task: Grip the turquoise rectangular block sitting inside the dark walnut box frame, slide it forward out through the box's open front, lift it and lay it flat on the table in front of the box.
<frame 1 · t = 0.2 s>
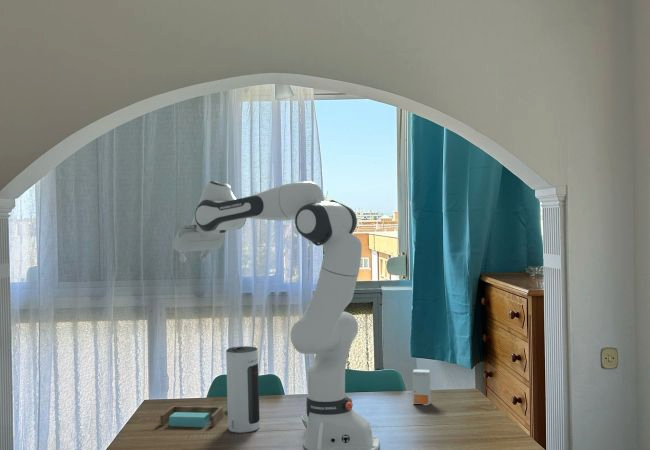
hand: (192, 260, 224), 54 cm above the table, tool tilted 30°, fingers open, 8 cm apart
skincare box: (421, 404, 233), on the table
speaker: (243, 428, 209), on the table
walnut box: (192, 421, 217), on the table
turquoise rectangular block: (189, 425, 214), on the table
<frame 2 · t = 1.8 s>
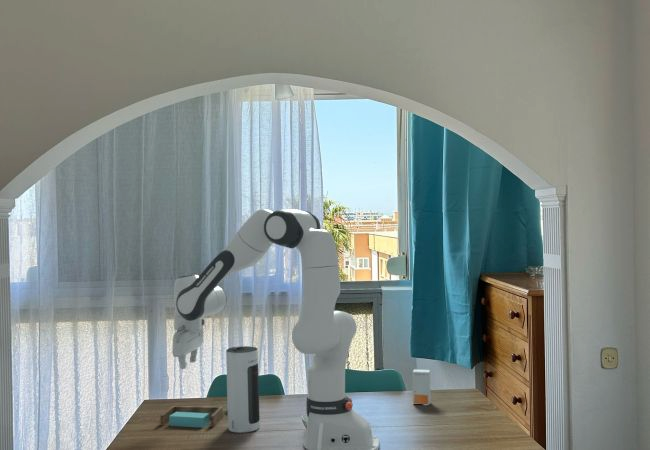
hand: (188, 365, 214), 20 cm above the table, tool pointing down, fingers open, 8 cm apart
nothing on the table moved.
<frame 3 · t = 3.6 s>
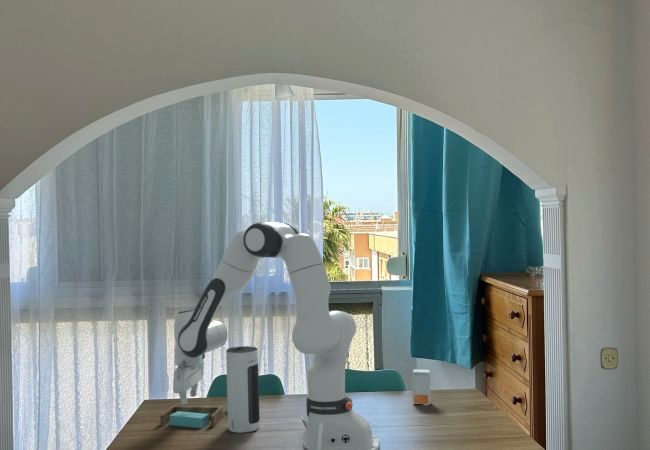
hand: (189, 400, 214), 8 cm above the table, tool pointing down, fingers open, 8 cm apart
nothing on the table moved.
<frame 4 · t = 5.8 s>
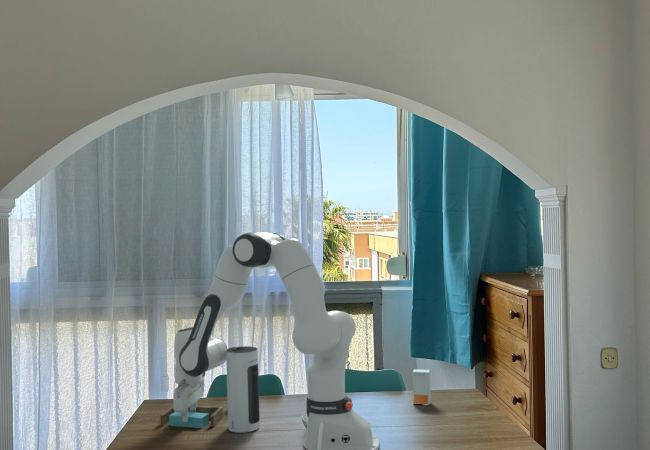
hand: (189, 418, 214), 2 cm above the table, tool pointing down, fingers closed on turquoise rectangular block, 5 cm apart
turquoise rectangular block: (189, 425, 214), on the table, touching gripper
everything else where it was.
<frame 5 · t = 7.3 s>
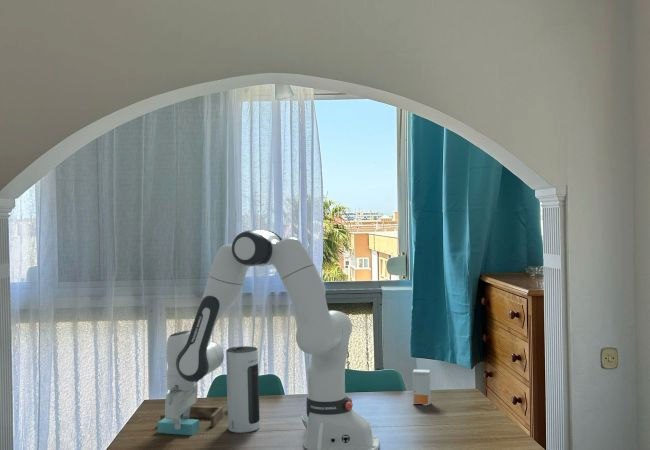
hand: (182, 425, 206), 2 cm above the table, tool pointing down, fingers open, 5 cm apart
turquoise rectangular block: (178, 431, 207), on the table
everything else where it was.
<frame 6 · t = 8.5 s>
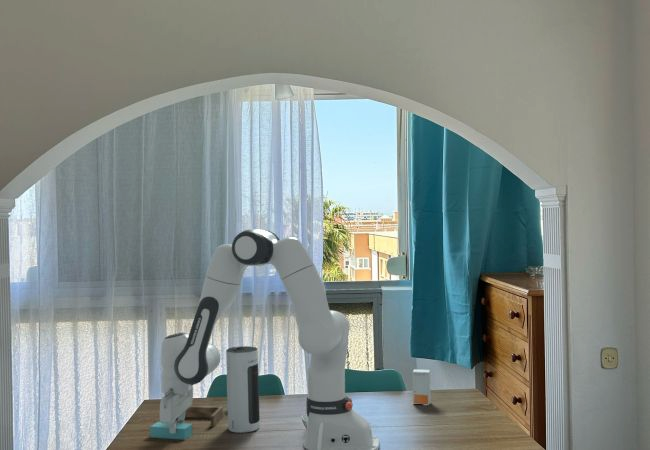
hand: (177, 429, 202), 2 cm above the table, tool pointing down, fingers closed on turquoise rectangular block, 5 cm apart
turquoise rectangular block: (171, 436, 203), on the table, touching gripper
everything else where it was.
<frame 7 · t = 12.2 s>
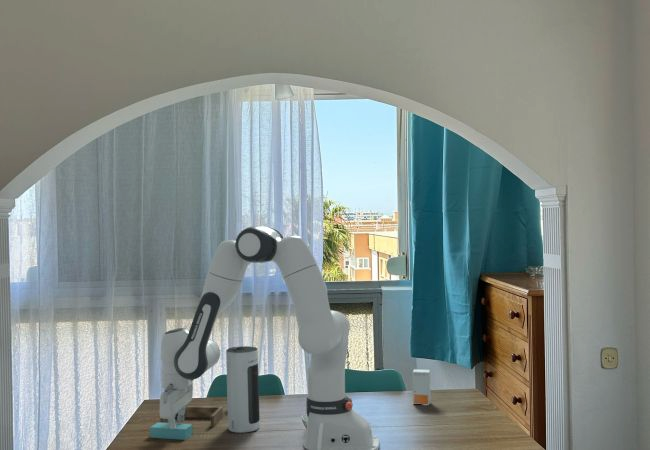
hand: (176, 424, 202), 4 cm above the table, tool pointing down, fingers open, 5 cm apart
turquoise rectangular block: (171, 436, 203), on the table
everything else where it was.
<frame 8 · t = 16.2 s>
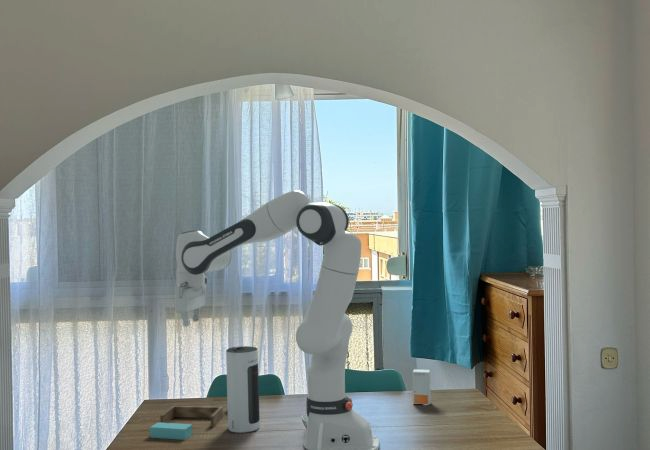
hand: (191, 323, 209), 34 cm above the table, tool pointing down, fingers open, 8 cm apart
nothing on the table moved.
at the end: turquoise rectangular block inside the target area (2.0 cm from its centre), on the table; turquoise rectangular block tilted 0°; the gripper is holding nothing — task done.
